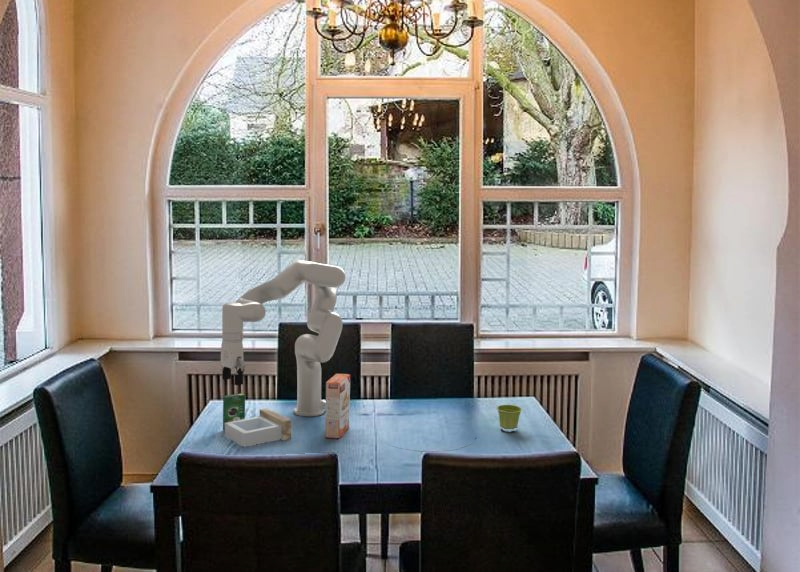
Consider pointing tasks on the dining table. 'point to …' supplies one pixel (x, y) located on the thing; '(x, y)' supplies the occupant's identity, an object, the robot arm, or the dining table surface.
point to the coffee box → (233, 408)
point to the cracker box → (337, 405)
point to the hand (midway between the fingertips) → (232, 381)
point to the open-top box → (253, 431)
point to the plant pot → (509, 416)
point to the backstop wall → (278, 422)
